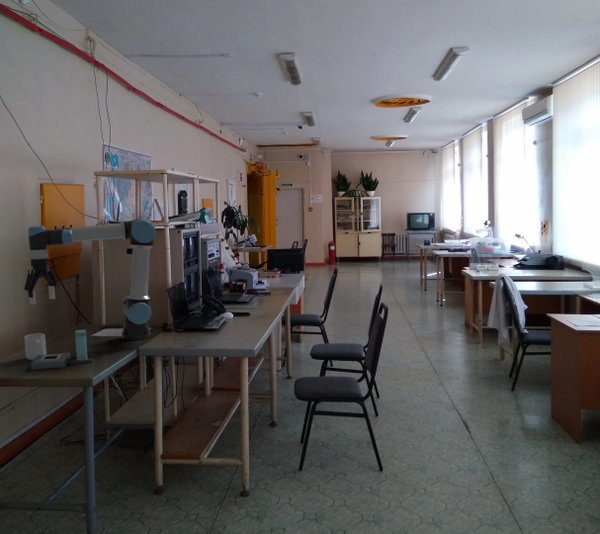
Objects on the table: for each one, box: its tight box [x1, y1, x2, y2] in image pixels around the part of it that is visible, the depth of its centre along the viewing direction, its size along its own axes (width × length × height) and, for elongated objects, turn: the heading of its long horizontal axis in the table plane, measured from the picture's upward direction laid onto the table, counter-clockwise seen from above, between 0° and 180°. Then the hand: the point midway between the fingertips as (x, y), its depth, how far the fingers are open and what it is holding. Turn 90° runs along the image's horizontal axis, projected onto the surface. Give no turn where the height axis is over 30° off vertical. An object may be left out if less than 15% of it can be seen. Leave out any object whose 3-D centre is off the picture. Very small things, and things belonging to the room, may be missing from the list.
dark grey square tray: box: [68, 353, 96, 365], centre depth 255 cm, size 10×10×2 cm
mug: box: [23, 332, 47, 361], centre depth 261 cm, size 12×9×11 cm
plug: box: [74, 329, 88, 360], centre depth 254 cm, size 4×4×14 cm
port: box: [30, 352, 71, 371], centre depth 250 cm, size 14×14×4 cm
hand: (42, 301), depth 268 cm, fingers open, 13 cm apart
